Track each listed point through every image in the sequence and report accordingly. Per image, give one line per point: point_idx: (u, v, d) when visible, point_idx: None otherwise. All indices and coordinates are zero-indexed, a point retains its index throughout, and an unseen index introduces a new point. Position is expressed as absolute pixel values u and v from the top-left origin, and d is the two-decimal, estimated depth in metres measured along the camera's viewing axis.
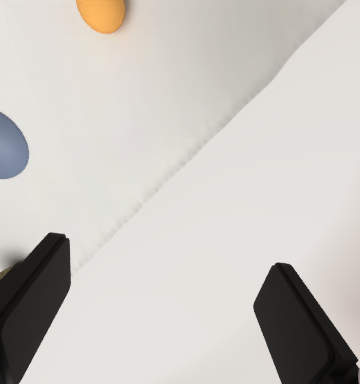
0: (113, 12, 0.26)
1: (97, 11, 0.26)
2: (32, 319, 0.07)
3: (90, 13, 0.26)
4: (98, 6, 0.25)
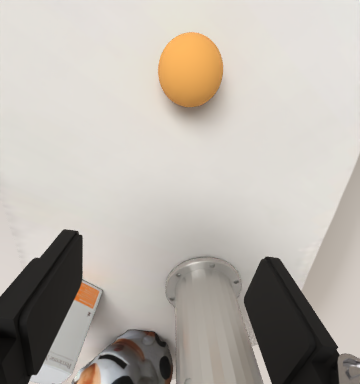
0: (165, 74, 0.18)
1: (180, 54, 0.17)
2: (50, 311, 0.07)
3: (188, 44, 0.17)
4: (181, 61, 0.17)
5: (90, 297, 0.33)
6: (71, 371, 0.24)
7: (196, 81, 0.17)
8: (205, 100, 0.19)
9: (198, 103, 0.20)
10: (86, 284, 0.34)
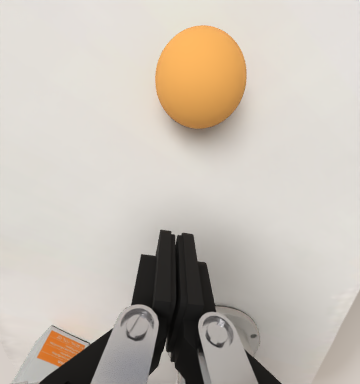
0: (164, 84, 0.12)
1: (187, 55, 0.11)
2: None
3: (198, 41, 0.11)
4: (189, 66, 0.11)
5: None
6: None
7: (210, 94, 0.12)
8: (221, 120, 0.14)
9: (211, 124, 0.14)
10: (69, 338, 0.28)
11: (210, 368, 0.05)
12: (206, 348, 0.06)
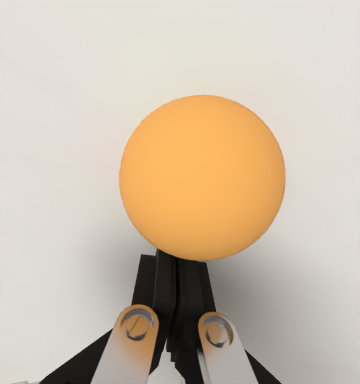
0: (136, 173, 0.06)
1: (182, 118, 0.06)
2: None
3: (201, 101, 0.06)
4: (188, 133, 0.05)
5: None
6: None
7: (240, 184, 0.05)
8: (254, 241, 0.07)
9: (236, 250, 0.07)
10: None
11: (210, 368, 0.05)
12: (206, 348, 0.06)
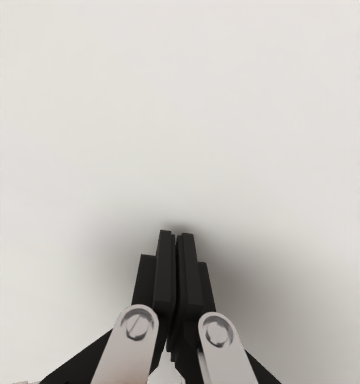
0: None
1: None
2: None
3: None
4: None
5: None
6: None
7: None
8: None
9: None
10: None
11: (210, 368, 0.05)
12: (206, 348, 0.06)
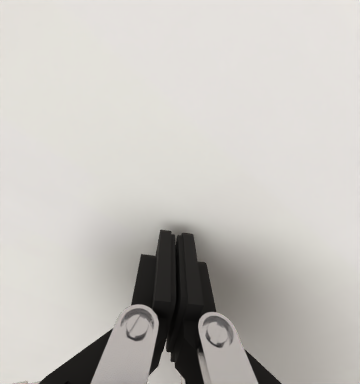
0: None
1: None
2: None
3: None
4: None
5: None
6: None
7: None
8: None
9: None
10: None
11: (210, 368, 0.05)
12: (206, 348, 0.06)
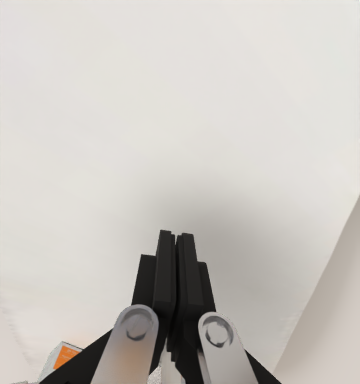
0: None
1: None
2: None
3: None
4: None
5: None
6: None
7: None
8: None
9: None
10: (76, 350, 0.35)
11: (210, 368, 0.05)
12: (206, 348, 0.06)
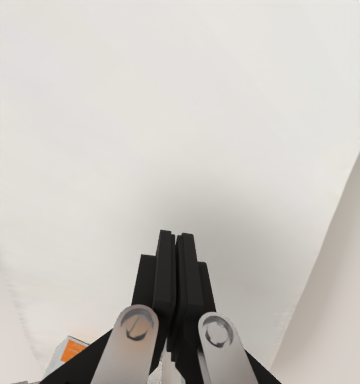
0: None
1: None
2: None
3: None
4: None
5: None
6: None
7: None
8: None
9: None
10: (81, 344, 0.37)
11: (210, 368, 0.05)
12: (206, 348, 0.06)
